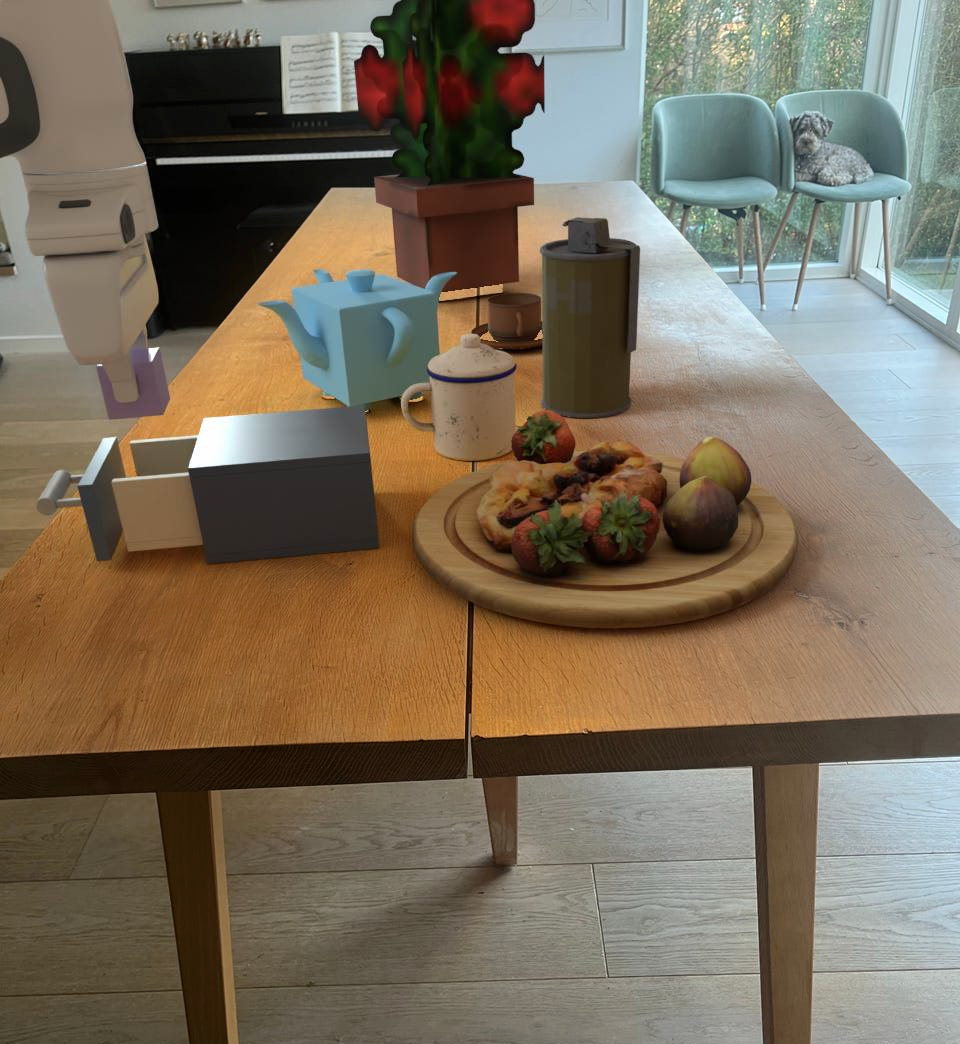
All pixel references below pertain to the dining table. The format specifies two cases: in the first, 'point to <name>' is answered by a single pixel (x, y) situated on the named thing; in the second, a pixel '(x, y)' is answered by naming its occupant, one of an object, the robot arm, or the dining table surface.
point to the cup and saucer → (512, 321)
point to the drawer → (133, 496)
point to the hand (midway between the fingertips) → (134, 389)
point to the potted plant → (453, 134)
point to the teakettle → (364, 334)
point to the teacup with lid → (469, 401)
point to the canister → (588, 320)
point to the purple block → (150, 383)
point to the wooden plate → (605, 532)
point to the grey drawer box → (284, 484)
